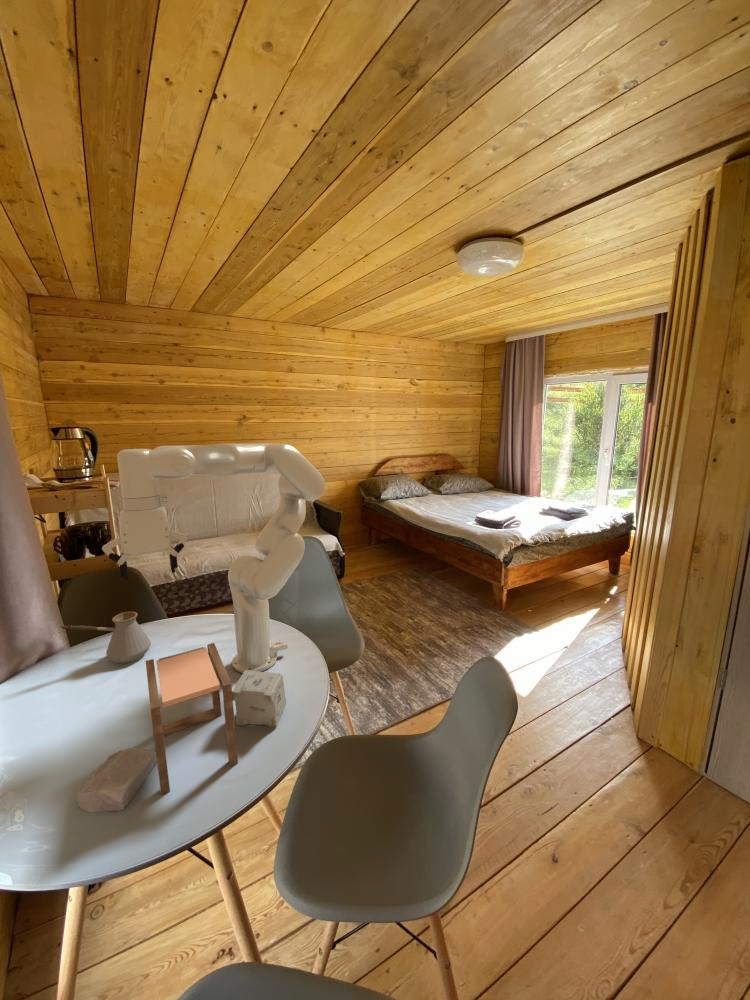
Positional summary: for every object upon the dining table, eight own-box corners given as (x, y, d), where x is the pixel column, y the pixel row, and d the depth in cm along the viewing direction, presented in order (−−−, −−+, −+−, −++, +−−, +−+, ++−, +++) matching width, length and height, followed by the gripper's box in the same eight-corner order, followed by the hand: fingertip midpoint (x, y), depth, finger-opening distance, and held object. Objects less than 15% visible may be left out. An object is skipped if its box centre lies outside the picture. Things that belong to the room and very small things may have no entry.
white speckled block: (232, 729, 94) (229, 687, 92) (249, 704, 102) (246, 666, 100) (274, 733, 92) (271, 691, 90) (287, 708, 100) (285, 669, 98)
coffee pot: (147, 642, 132) (141, 598, 129) (155, 657, 123) (150, 610, 120) (64, 667, 118) (56, 619, 115) (67, 686, 109) (58, 634, 107)
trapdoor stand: (220, 711, 99) (214, 642, 96) (237, 763, 84) (231, 683, 81) (154, 734, 92) (145, 660, 89) (161, 795, 77) (150, 709, 74)
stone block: (74, 821, 74) (126, 813, 73) (66, 798, 74) (118, 789, 73) (118, 769, 86) (163, 761, 85) (111, 748, 85) (156, 741, 85)
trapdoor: (204, 652, 97) (203, 642, 96) (220, 696, 81) (219, 684, 81) (156, 665, 91) (155, 654, 91) (164, 714, 76) (162, 702, 76)
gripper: (181, 497, 101) (188, 564, 104) (97, 505, 93) (107, 577, 96) (185, 502, 95) (192, 572, 98) (95, 511, 86) (106, 588, 89)
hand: (150, 575), depth 97 cm, fingers open, 9 cm apart
